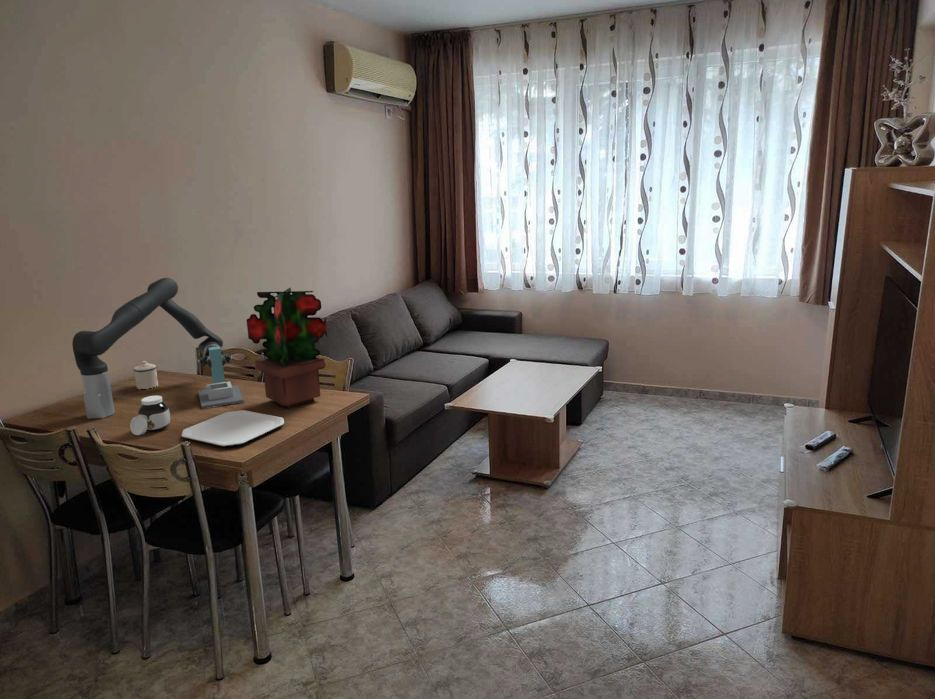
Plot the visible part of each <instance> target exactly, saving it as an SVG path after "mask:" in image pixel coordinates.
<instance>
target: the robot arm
mask: <svg viewBox="0 0 935 699" xmlns="http://www.w3.org/2000/svg"><path fill="white" fill-rule="evenodd" d="M178 292H179V286H178V283H177V281H175V280H174V279H172V278H169V277H163V278H160V279H157V280H156V281H154V282H151V283H150V284H149V285H148V287H147V289H146V291H145V292H144V293H142V294H140V295H139V296H136V297H134V298H133V299H131V300H129V301H127V302H126V303H124V304H123V305H122V306H119V308H117V309H116V310H115V311H114V313H113V314H112V317H111V320H110V322H109V323H108V324H107V325H105V326H104V327H103V328H101V329H99V330H96V331H93V330H91V331H90V330H89V331H88V330H81V331H77V332H76V333H75V334H74V336H73V337H72V343H71V344H72V345H71V346H72V350H73V351H72V352H73V355H74V360H75V363H76V367H77V369H78V370H79V372H80V378H81V384H82V390H83V402H84V406H85V413H86V418H87V419H104V418H106V417H107V418H108V417H111V416H112V415H114V414H115V413H116V412H115V411H116V410H115V405H114V400H113V398H114V397H113V393H112V387H111V382H110V376H109V375H110V374H109V368H108V364H107V363H106V362H105V361H103V360H102V359H101V358H100V357H99V356H101V355H103V354H105V353H106V352H107V351H108V350H109V349H110V348H111V347H112V346H113V345H115V343H116V342H117V341H118V340H120V339H121V338H122V337H123V336H124V335H126V334H127V333H128V332H129V331H131V330H132V329H133V328H135V327H136V326H138V325H139V324H140V323H142V321H144V320H145V319H146V318H148V316H149V315H151V314H152V313H153V312H154V311H155V310H156V309H158V307H160V308H161V309H163V310H164V312H166V313H167V314H169V315H170V316H171V317H172V318H173V319H175V320H176V321H177V322H178V323H179V324H180V325H181V326H182V328H184V330H185V331H186V332H187V333H188V334H189V335H190V336H191V338H193V339H195V340H198V339H200V338H202V337H207V338H206V339H204V340H203V341H201V342H200V343H199V344H198V346H197V347H198V349H197V350H198V351H199V353H200V354H201V355H202V356H203V357H201V356H197V363H198V364H199V365H201V366H203V367H204V366H206V365H207V367H209V368H211V367H212V366H211V361H210V356H209V348H210V347H218V346H220V348H221V354H222V364H223V366H225V365H226V364H228V363H231V362H232V360H233V355H232V353H231V352H229V353H227V354H225V353H224V351H223V349H222V347H223V346H224V341H223V339H222V338H221V337H220V336H219V335H217V334H215V333H214V332H212V331H211V330H210V329H208V328H207V327H206V326H205V325H204V324H203V323H202V322H201V321H200V319H199V318H198V317H197V316H196V315H195V314H194V313H192V312H190V311H188V310H186V309H184V308H183V307H182V306H180V305H178V304H177V303H176V302H175V301H174V300H173V298H175V297H176V296H177V294H178Z"/></svg>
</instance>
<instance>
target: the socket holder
mask: <svg viewBox="0 0 935 699" xmlns="http://www.w3.org/2000/svg"><path fill="white" fill-rule="evenodd" d="M205 385H206V389H201V390H197V392H198V397H199V402H200V408H201V407H202V408H205V409H208V408H207V407H211V408H214V407H213V406H218V407H221V406H220V405H225V406H228V405H227V404H231V405H237V404H236V403H238V404H242V403H243V402H244V403H245V400H244V398H243V395H242V392H241V389H240V388H239V385H238V384H237V385H232V383H231V381H230V380H229V381H225V382H218V383H209V384H208V383H207V384H205ZM244 403H243V404H244ZM202 408H201V409H202Z"/></svg>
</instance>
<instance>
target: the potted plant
mask: <svg viewBox="0 0 935 699" xmlns="http://www.w3.org/2000/svg"><path fill="white" fill-rule="evenodd" d="M306 293H308V294H306ZM309 293H310V294H309ZM311 293H314V290H301V291H300V290H297V291H296V290H293V291H292V287H288V288H287V289H286V290H284V291H257V292H256V295H257V297H258V298H260V299H265V300H264V301H263V303H261V304H255V305H254V306H253V310H254V312H257V313H258V315H259V317H258V315H257V314H256V313H252V314H250V316H249V317H248V318H247V319H246V328H247V337H248V339H249V340H251V341H252V343H253V344H255V345H256V344H257V345H258V344H259V343H260V342H261V340H265V341H262V344H261V345H262V346H263V348H265V349H266V350H264V351H263V355H264V357H263V358H259V359H255V361H254V362H255V370H257V371H259V372H261V373H263V379H264V381H263V382H264V390H265V398H267V399H269V400H272V401H274V402H273V403H275V402H276V404H278V403H279V404H278V405H280V404H281V405H280V406H282V405H283V407H284V406H285V407H284V408H287V407H291V408H293V407H292V406H294V407H297V406H296V405H298V406H300V404H301V405H304V404H303V403H305V404H308V403H312V402H315V399H316V398H319V397H321V388H320V387H321V386H320V374H319V370H323V369H326V364H325V358H324V357H320V354H321V352H320V350H319V349H317V348H316V347H315V345H316V344H315V343H318V342H319V340H320V339H321V338H324V335H325V337H328V333H327V332H328V331H327V319H326V317H325V318H324V320H323V319H322V318H321V317H320V316H319V317H318V316H316V315H317V313H318V311H321V309H322V302H321V300H320V299H319V298H317V297H316V295H314V294H311ZM272 294H273V295H272ZM274 294H276V296H274ZM309 316H312V317H309ZM307 402H308V403H307Z"/></svg>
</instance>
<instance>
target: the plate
mask: <svg viewBox="0 0 935 699" xmlns="http://www.w3.org/2000/svg"><path fill="white" fill-rule="evenodd" d="M283 425H285V419H284V418H283V417H280V416H276V415H270V414H264V413H260V412H254V411H249V410H243V409H242V410H232V411H226V412H224V413H223V412H222V413H220V414H218V415H215V416H213V417H211V418H208V419H206V420H204V421H202V422H199V423H196V424H194V425H191V426H188V427H187V428H183V430H182V432H181V434H180V435H181V436H180V437H181V438H182V439H183V438H184V439H188V440H193V441H197V442H199V443H200V442H201V443H205V444H210V445H215V446H219V447H223V448H224V447H225V448H227V447H226V446H229V447H235V446H234V445H237V446H241V444H242V445H244V444H247V443H248V441H249V442H251V441H253V440H255V439H257V438H259V437H261V436H264V435H265V433H266V434H267V432H268V433H270V432H272V431H274V430H276V429H278V428H280V427H283ZM250 440H251V441H250Z"/></svg>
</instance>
